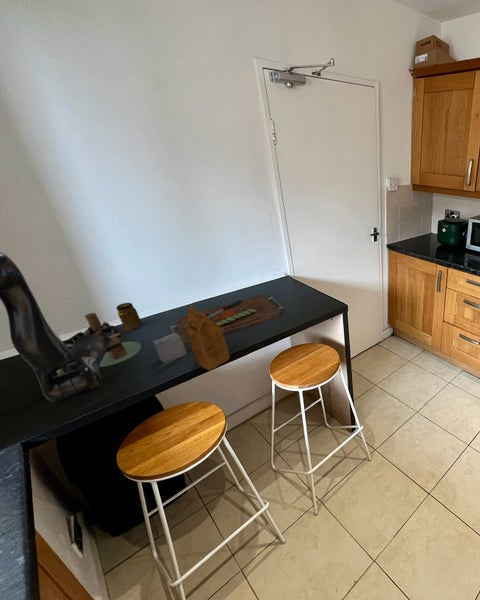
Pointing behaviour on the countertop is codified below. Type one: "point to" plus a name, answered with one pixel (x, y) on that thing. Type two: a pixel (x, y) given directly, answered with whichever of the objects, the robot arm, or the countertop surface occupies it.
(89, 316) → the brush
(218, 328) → the coffee package
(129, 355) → the turntable plate
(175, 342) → the medicine box
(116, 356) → the reddish brown cube
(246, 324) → the chopping board
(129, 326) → the condiment
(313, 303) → the countertop surface
